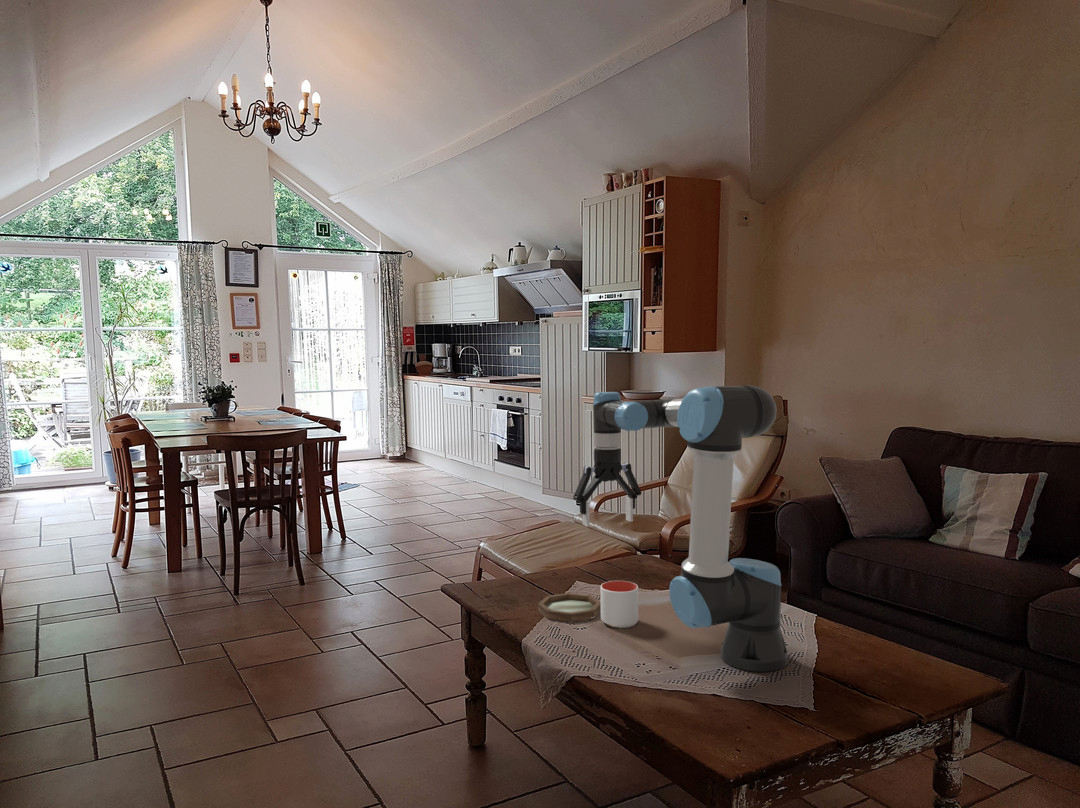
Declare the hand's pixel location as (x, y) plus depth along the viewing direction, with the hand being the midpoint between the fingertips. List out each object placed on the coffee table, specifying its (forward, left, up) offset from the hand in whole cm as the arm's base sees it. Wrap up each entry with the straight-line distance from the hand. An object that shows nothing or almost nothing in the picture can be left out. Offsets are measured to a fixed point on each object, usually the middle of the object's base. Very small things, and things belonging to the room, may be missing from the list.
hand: (608, 523), depth 214 cm
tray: (+3, +11, -24) cm, 27 cm away
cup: (-11, +3, -25) cm, 27 cm away
